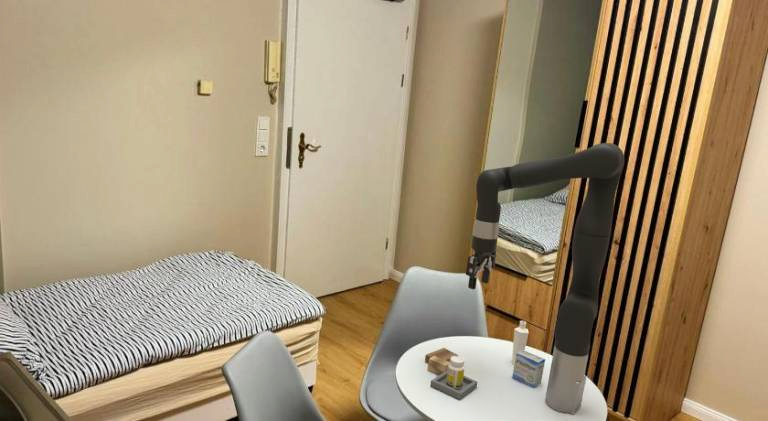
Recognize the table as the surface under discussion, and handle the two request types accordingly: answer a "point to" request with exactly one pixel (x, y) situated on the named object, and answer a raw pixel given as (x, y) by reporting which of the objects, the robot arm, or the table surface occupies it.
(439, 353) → the flat cardboard carton
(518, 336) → the white plastic bottle
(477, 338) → the table surface
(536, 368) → the medicine box
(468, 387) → the tray
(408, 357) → the table surface
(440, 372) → the tan rectangular block
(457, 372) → the supplement bottle
